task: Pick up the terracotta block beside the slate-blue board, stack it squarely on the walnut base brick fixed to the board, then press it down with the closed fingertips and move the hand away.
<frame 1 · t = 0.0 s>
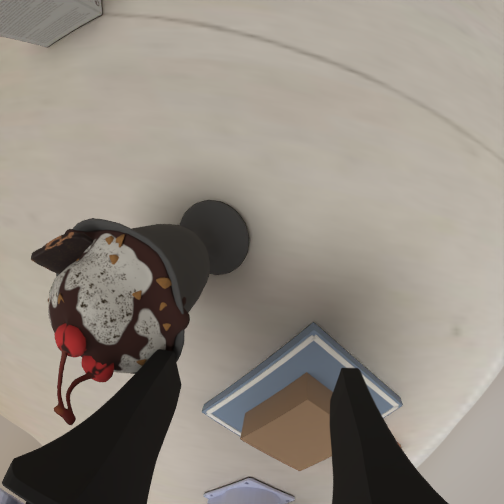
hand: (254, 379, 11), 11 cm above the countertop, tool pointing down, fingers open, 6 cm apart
skincare box: (73, 13, 16), on the countertop
blueprint board: (303, 406, 25), on the countertop
sundae: (214, 237, 21), on the countertop, touching gripper
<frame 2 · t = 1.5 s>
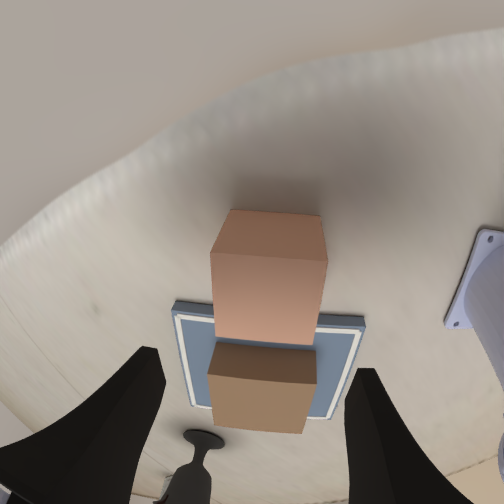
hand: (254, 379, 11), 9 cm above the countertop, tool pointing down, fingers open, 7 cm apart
skincare box: (185, 480, 43), on the countertop
blueprint board: (264, 367, 24), on the countertop
terracotta block: (273, 250, 19), on the countertop
sundae: (203, 438, 32), on the countertop
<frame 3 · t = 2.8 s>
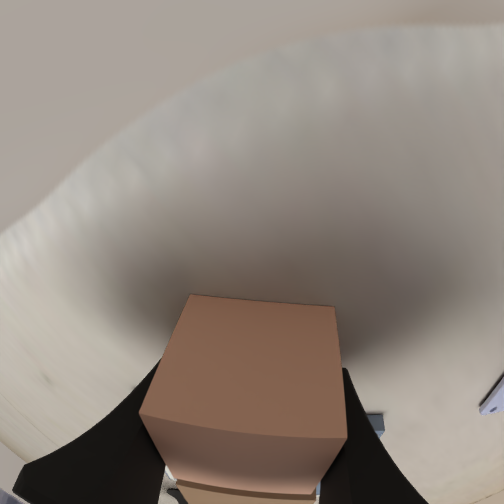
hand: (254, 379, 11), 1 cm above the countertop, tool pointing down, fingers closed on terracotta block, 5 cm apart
blueprint board: (252, 455, 17), on the countertop
terracotta block: (258, 351, 12), on the countertop, touching gripper
sundae: (189, 495, 25), on the countertop
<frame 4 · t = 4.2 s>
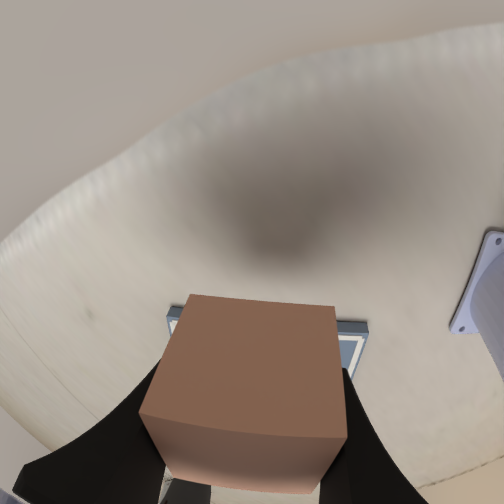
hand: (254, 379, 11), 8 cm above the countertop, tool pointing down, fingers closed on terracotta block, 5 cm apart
skincare box: (184, 485, 42), on the countertop
blueprint board: (264, 374, 23), on the countertop
terracotta block: (258, 350, 12), point 7 cm above the countertop, touching gripper
sundae: (202, 443, 31), on the countertop
when the fingers open (6 cm above the countertop, at t = 5.7 s): terracotta block stays where it is, resting on blueprint board.
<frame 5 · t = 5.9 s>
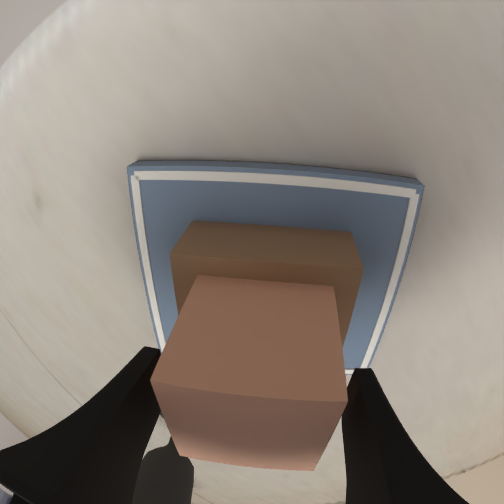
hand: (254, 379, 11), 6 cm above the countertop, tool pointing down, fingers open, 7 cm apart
blueprint board: (268, 279, 16), on the countertop
terracotta block: (262, 330, 13), point 4 cm above the countertop, touching blueprint board
sundae: (185, 413, 24), on the countertop
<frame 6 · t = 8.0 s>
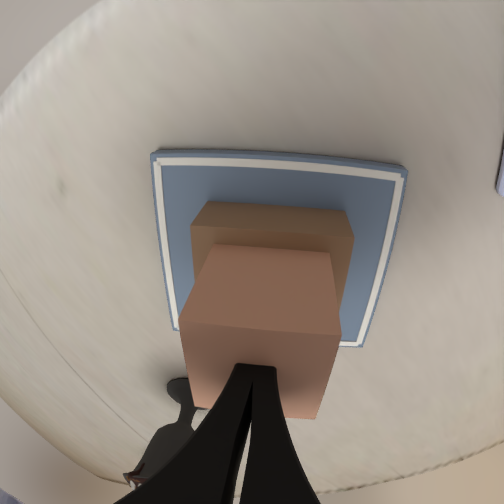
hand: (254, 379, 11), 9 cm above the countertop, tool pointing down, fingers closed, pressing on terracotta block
blueprint board: (273, 255, 18), on the countertop
terracotta block: (268, 295, 15), point 4 cm above the countertop, touching blueprint board, gripper
sundae: (193, 392, 27), on the countertop
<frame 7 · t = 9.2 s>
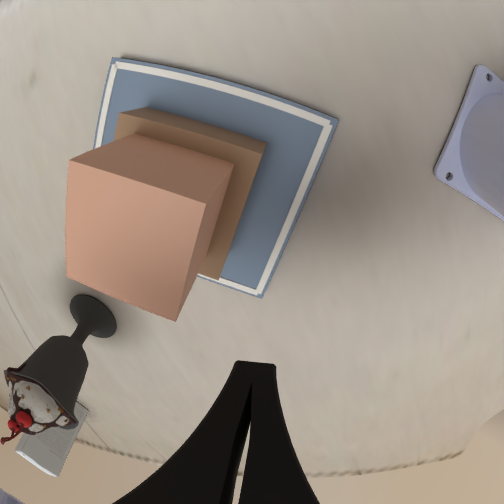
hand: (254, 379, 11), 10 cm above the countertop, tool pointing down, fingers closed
skincare box: (69, 399, 36), on the countertop
blueprint board: (192, 176, 18), on the countertop
terracotta block: (170, 196, 15), point 4 cm above the countertop, touching blueprint board
sundae: (93, 314, 25), on the countertop
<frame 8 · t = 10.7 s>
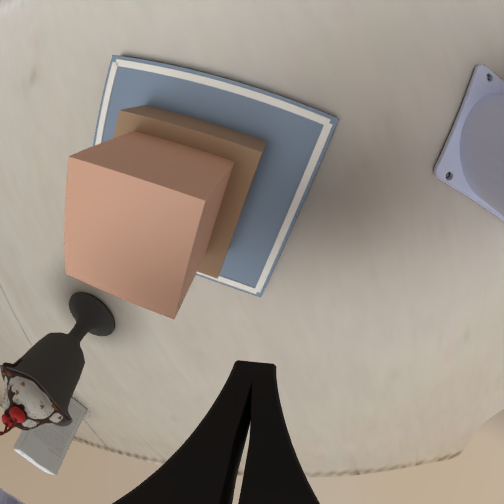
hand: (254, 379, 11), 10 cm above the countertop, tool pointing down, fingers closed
skincare box: (67, 397, 36), on the countertop
blueprint board: (192, 174, 18), on the countertop
terracotta block: (169, 194, 15), point 4 cm above the countertop, touching blueprint board
sundae: (92, 312, 25), on the countertop
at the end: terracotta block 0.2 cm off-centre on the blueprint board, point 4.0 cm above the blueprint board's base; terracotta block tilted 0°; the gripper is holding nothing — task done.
